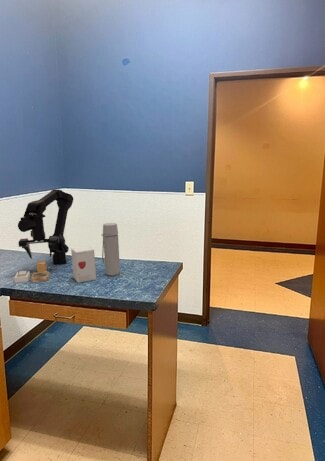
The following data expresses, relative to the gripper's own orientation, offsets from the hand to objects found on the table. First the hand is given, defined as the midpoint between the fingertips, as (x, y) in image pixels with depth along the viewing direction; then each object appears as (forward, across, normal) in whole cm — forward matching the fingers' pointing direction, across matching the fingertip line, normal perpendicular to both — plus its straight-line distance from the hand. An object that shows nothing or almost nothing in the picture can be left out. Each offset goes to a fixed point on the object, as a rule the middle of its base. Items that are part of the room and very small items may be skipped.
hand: (41, 257), depth 168 cm
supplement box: (+8, -20, +17) cm, 28 cm away
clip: (+8, +8, +8) cm, 14 cm away
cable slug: (+8, +8, +8) cm, 14 cm away
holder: (+8, 0, +11) cm, 13 cm away
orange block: (+8, 0, 0) cm, 8 cm away
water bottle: (+8, -33, +14) cm, 37 cm away
